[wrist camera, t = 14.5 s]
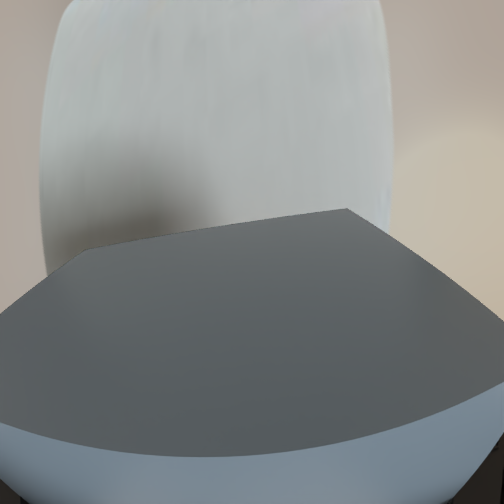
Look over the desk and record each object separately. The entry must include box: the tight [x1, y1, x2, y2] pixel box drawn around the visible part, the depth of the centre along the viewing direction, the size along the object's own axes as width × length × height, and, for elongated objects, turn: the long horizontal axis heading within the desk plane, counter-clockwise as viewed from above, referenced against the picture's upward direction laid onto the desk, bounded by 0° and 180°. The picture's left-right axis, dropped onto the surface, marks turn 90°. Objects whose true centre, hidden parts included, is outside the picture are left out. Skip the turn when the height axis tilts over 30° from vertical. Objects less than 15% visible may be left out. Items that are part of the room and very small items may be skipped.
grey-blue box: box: [0, 208, 504, 504], centre depth 8 cm, size 10×10×9 cm
